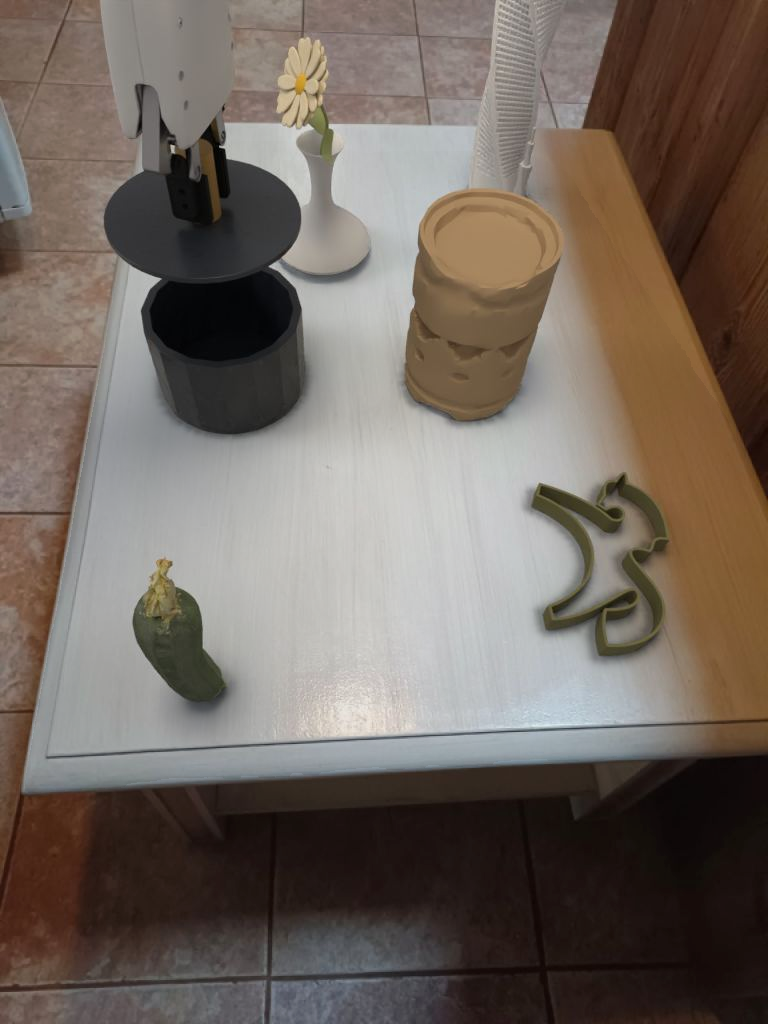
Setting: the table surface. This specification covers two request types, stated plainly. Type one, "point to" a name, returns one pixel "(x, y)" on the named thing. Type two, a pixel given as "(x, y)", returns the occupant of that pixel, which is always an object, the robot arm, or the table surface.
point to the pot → (227, 349)
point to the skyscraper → (512, 93)
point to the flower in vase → (318, 169)
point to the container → (478, 299)
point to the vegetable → (175, 638)
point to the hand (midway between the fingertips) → (202, 204)
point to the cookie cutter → (608, 521)
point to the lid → (204, 248)
